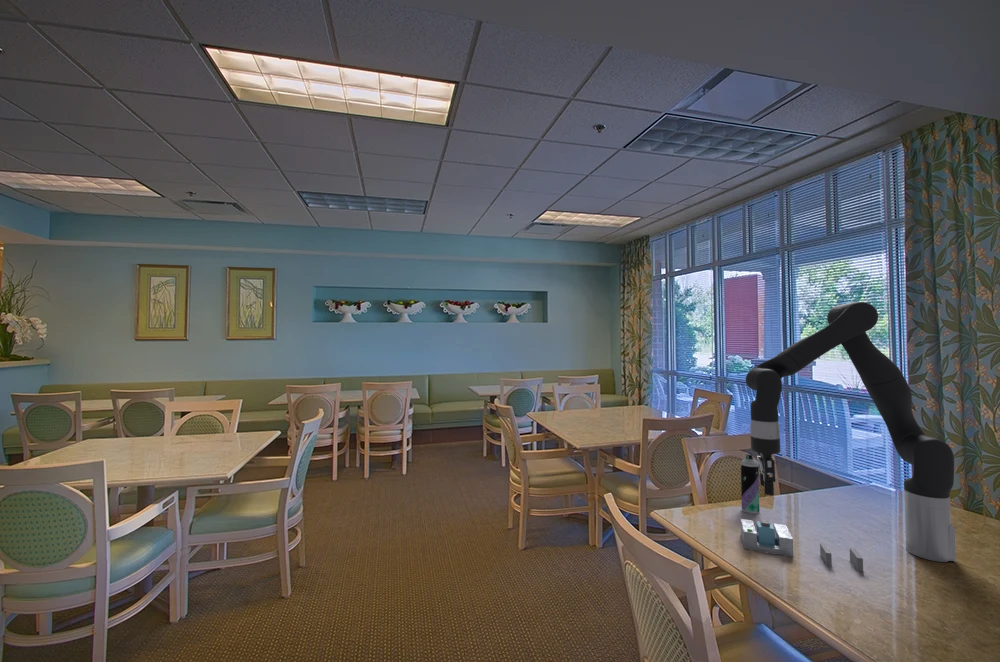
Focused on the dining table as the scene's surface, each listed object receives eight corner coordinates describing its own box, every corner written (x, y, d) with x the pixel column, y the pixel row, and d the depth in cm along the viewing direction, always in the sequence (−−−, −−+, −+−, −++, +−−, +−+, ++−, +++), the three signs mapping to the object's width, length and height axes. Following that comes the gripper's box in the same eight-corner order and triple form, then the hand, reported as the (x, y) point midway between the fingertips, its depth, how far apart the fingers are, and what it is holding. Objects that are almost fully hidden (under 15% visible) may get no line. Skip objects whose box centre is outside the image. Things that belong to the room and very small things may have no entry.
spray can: (742, 512, 152) (740, 455, 152) (741, 507, 157) (740, 452, 157) (760, 515, 149) (758, 457, 150) (759, 509, 154) (757, 453, 155)
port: (786, 542, 129) (786, 523, 129) (793, 557, 120) (792, 536, 120) (741, 534, 134) (740, 516, 134) (744, 549, 125) (743, 529, 125)
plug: (772, 543, 128) (771, 520, 128) (775, 549, 124) (774, 525, 125) (756, 541, 130) (756, 518, 130) (759, 547, 126) (758, 523, 126)
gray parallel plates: (855, 561, 117) (855, 548, 118) (863, 572, 112) (862, 558, 112) (820, 555, 121) (820, 543, 121) (826, 565, 115) (825, 552, 115)
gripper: (784, 441, 120) (786, 500, 119) (775, 431, 133) (777, 484, 132) (753, 439, 123) (755, 496, 123) (747, 430, 136) (749, 481, 136)
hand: (766, 490), depth 127 cm, fingers open, 8 cm apart
